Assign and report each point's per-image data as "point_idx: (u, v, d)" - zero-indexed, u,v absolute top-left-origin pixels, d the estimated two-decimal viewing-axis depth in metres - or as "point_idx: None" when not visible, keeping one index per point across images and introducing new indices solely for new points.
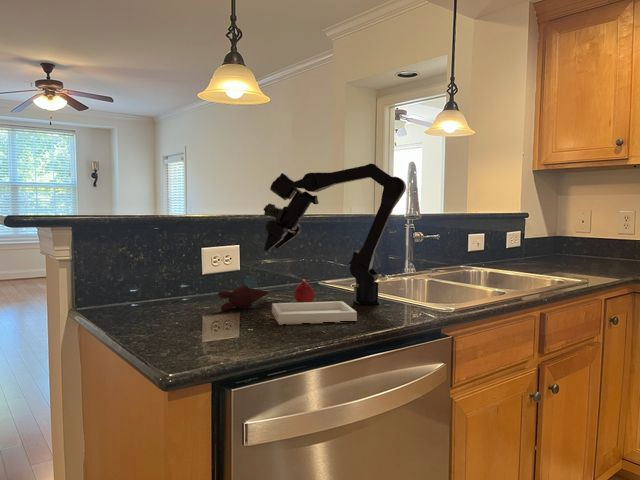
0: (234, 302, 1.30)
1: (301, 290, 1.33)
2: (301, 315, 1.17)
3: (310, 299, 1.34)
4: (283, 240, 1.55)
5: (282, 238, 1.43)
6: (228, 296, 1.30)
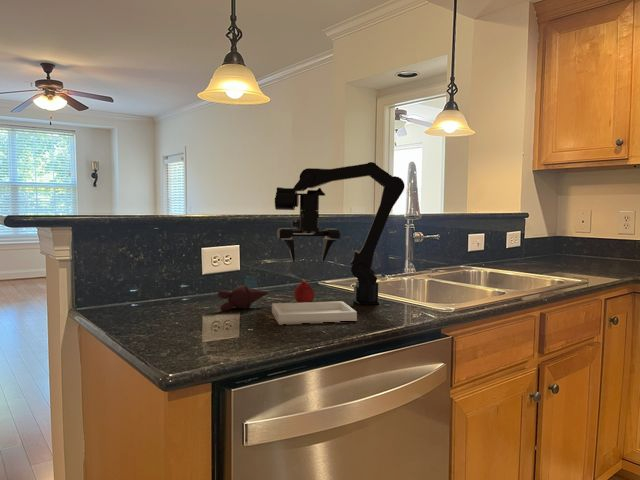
0: (233, 302, 1.30)
1: (301, 290, 1.33)
2: (301, 315, 1.17)
3: (310, 299, 1.34)
4: (324, 250, 1.44)
5: (289, 240, 1.39)
6: (227, 296, 1.30)
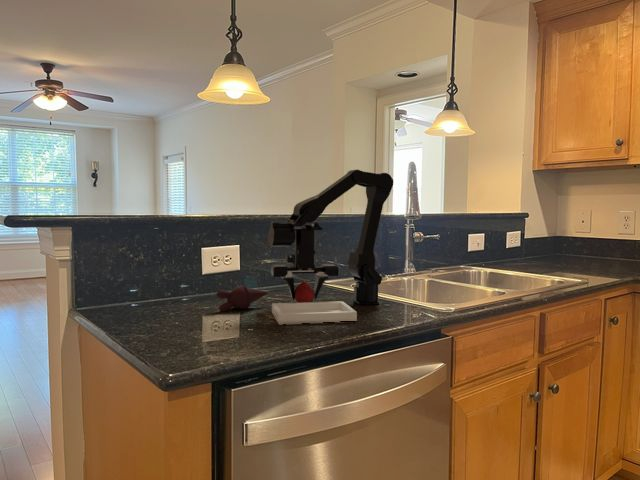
0: (232, 302, 1.30)
1: (301, 290, 1.33)
2: (301, 315, 1.17)
3: (310, 299, 1.34)
4: (316, 288, 1.36)
5: (289, 278, 1.31)
6: (226, 296, 1.29)
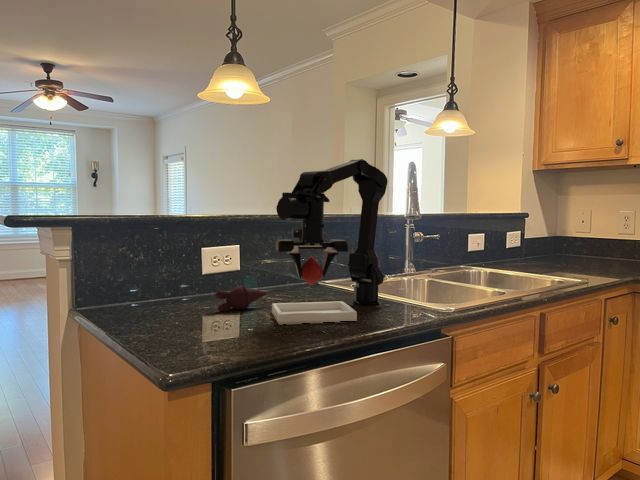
0: (231, 303, 1.29)
1: (308, 266, 1.23)
2: (301, 315, 1.17)
3: (318, 276, 1.24)
4: (324, 265, 1.26)
5: (295, 253, 1.21)
6: (225, 296, 1.29)
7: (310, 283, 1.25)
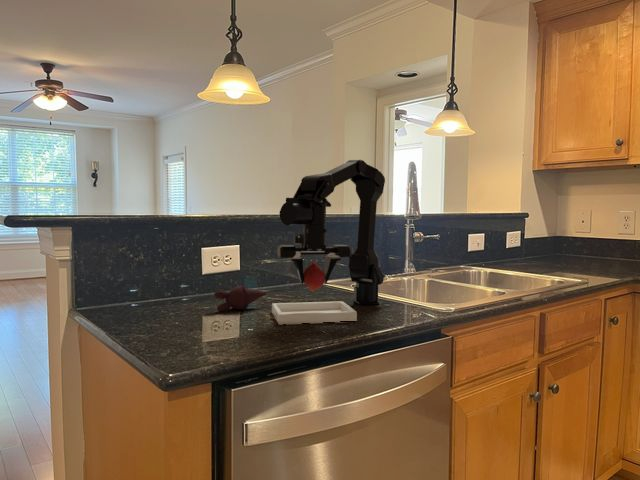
0: (230, 303, 1.29)
1: (310, 272, 1.21)
2: (301, 315, 1.17)
3: (320, 282, 1.22)
4: (327, 271, 1.24)
5: (297, 259, 1.19)
6: (224, 297, 1.29)
7: (312, 289, 1.23)
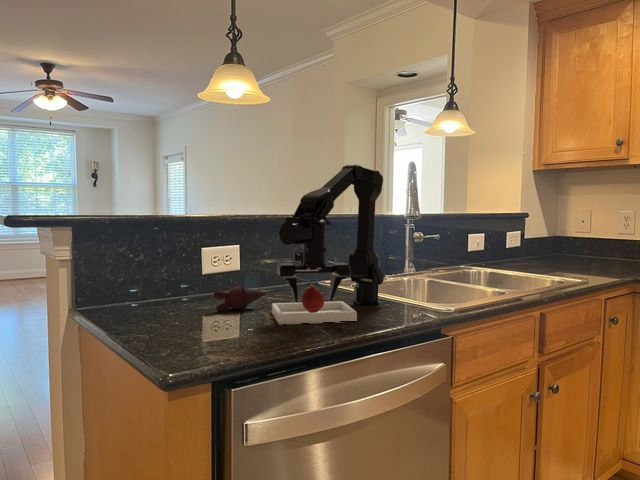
0: (229, 303, 1.29)
1: (309, 296, 1.22)
2: (301, 315, 1.17)
3: (320, 306, 1.22)
4: (332, 289, 1.24)
5: (291, 278, 1.19)
6: (223, 297, 1.29)
7: (312, 312, 1.23)
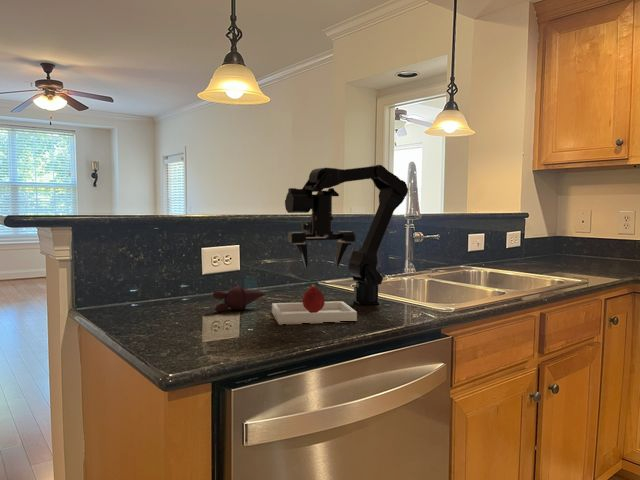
0: (229, 303, 1.29)
1: (310, 296, 1.22)
2: (301, 315, 1.17)
3: (320, 306, 1.23)
4: (338, 254, 1.36)
5: (302, 244, 1.30)
6: (223, 297, 1.29)
7: (312, 312, 1.23)
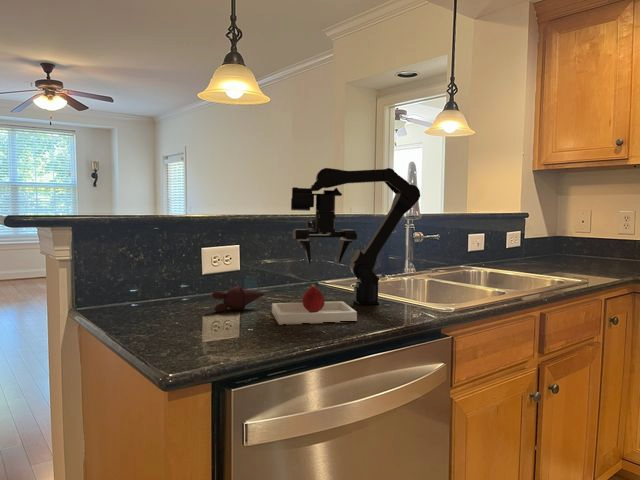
0: (228, 303, 1.28)
1: (310, 296, 1.22)
2: (301, 315, 1.17)
3: (320, 306, 1.23)
4: (340, 251, 1.42)
5: (305, 241, 1.37)
6: (222, 297, 1.28)
7: (312, 312, 1.23)
